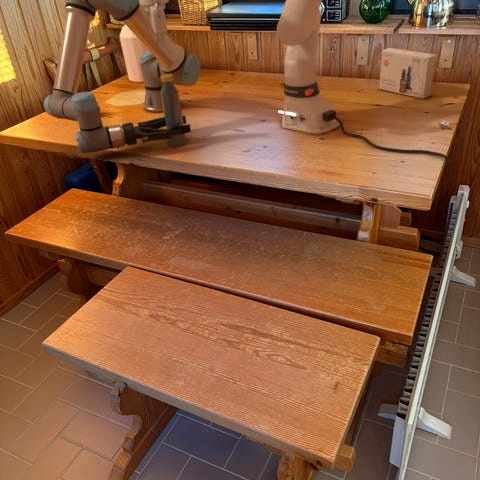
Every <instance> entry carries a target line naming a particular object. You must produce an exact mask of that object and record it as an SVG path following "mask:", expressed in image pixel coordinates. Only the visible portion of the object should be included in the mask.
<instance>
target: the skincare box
mask: <svg viewBox="0 0 480 480" xmlns="http://www.w3.org/2000/svg"><path fill="white" fill-rule="evenodd" d="M436 57H437V54H435V53H427V52H423V51H422V52H420V51H413V50H407V49H400V48H395V47H394V48H393V47H387V48H385V49H382V50H381V61H380V74H379V86H378V87H379V88H378V89H379V90H383V91H387V92H391V93H395V94H399V95H405V96H409V97H414V98H418V99H422V100H424V99H426V98H428V97H430V96H431V91H432V86H433V85H432V84H433V78H434V73H435V72H434V71H435V70H434V69H435V64H436Z"/></svg>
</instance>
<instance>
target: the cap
mask: <svg viewBox="0 0 480 480" xmlns="http://www.w3.org/2000/svg"><path fill="white" fill-rule="evenodd" d="M160 77H161V82H170V81H173V75H172V74H165V75H162V76H160Z"/></svg>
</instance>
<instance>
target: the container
mask: <svg viewBox="0 0 480 480" xmlns="http://www.w3.org/2000/svg"><path fill="white" fill-rule="evenodd" d="M119 41H120V45H121V49H122V54H123V59H124V63H125V68H126V72H127V77H128V80H129V81H130V82H134V83H144V80H143V75H142V71H141V66H140V55H141V54H142V53H144V52H147V51H149V50H148V49H147V47H146V46H145V45H144V44H143V43H142V42H141V41H140V40H139V39H138V38H137V36H136V35H135V34H134V33H133V32H132V31H131V30H130V29H129V28H128V27H127V25H126V24H125V23H124V25H123V26H122V28H121V31H120V33H119Z"/></svg>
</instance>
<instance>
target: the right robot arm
mask: <svg viewBox="0 0 480 480" xmlns="http://www.w3.org/2000/svg"><path fill="white" fill-rule="evenodd" d="M169 1H170V0H139V4H140V5H143V7H144V8H145V11H146V12H147V15H148V19H149V22H150V25H151V26H152V28H153V30H154V32H155V35H156V39H157V43H158V44H159V46H160V48H161V49H162V48H165V47H166V46H165V34H166V35H168V25H167V20H166V19H167V18H166V14H165V9H166V4H167V3H168V2H169ZM322 2H323V0H285V2H284V5H283V8H282V11H281V14H280V18H279V19H278V23H277V25H276V35H277V38H278V40H279V41H280V42H281V43H282V44H283V45H285V46H286V50H285V55H284V59H283V67H284V68H283V70H284V82H283V89H282V90H283V94H284V103H283V110H278V113H279V114H282V116H281V120H280V121H281V128H282V129H288V130H292V131H298V132H303V133H309V134H313V135H314V134H315V135H319V134H324V133H328V132H331V131H332V130H335V129H337V128H338V127H339V126H340V130H341V132H342V133H343V134H344V135H345V136H349V137H353V138H358V139H361V140H363V141H364V142H366V144H368V145H369V146H371V147H373V148H375V149H378V150H381V151H382V150H383V151H386V152H393V153H402V154H403V153H404V154H405V153H406V154H416V153H417V154H427V155H432V156H436V157H441V158H443V159H444V160H445V161H446V162H447V163H448V165H449V166H450V167H454V163H453V162H452V160H451V159H450V157H448V156H447V155H446V154H444V153H441V152H438V151H437V152H436V151H431V150H425V149H401V148H400V149H399V148H392V147H386V146H380V145H377V144H375V143H372V142H371V141H370V140H369V139H368V138H367V137H365V136H363V135H362V134H361V135H360V134H353V133H349V132H348V131H346V130H345V128H344V123H343V122H342V120H341V119H340V118H338V117H337V110H334V109H335V108H334V106H333V105H332V104H331V103H330V102H329V101H328V100H327V99H326V98H325V97H324V96H323V95H322V94H321V93H320V90H321V89H322V86H323V85H322V84H320V85H319V84H318V81H317V53H318V48H319V47H318V46H319V38H320V29H321V19H322V14H321V10H320V7H321V5H322ZM449 203H450V204H449V209H448V215H447V220H446V226H445V229H444V234H443V239H442V242H441V246H440V251H439V257H438V261H437V268H438V269H440V268H441V265H442V260H443V255H444V250H445V247H446V242H447V239H448V234H449V229H450V225H451V220H452V215H453V209H454V203H455V202H454V201H453V202H449Z"/></svg>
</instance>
